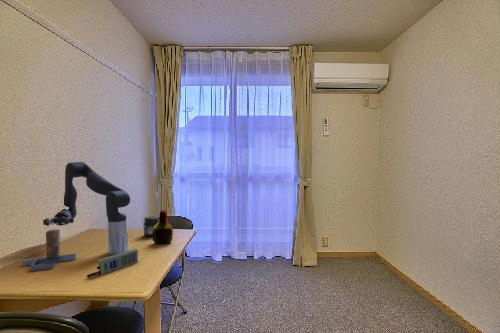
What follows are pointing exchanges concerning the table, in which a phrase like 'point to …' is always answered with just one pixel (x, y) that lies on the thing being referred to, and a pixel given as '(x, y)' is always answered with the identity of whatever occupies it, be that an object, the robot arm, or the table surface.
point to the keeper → (46, 261)
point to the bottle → (162, 230)
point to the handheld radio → (116, 262)
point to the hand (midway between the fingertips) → (56, 223)
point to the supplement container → (149, 225)
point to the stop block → (52, 243)
